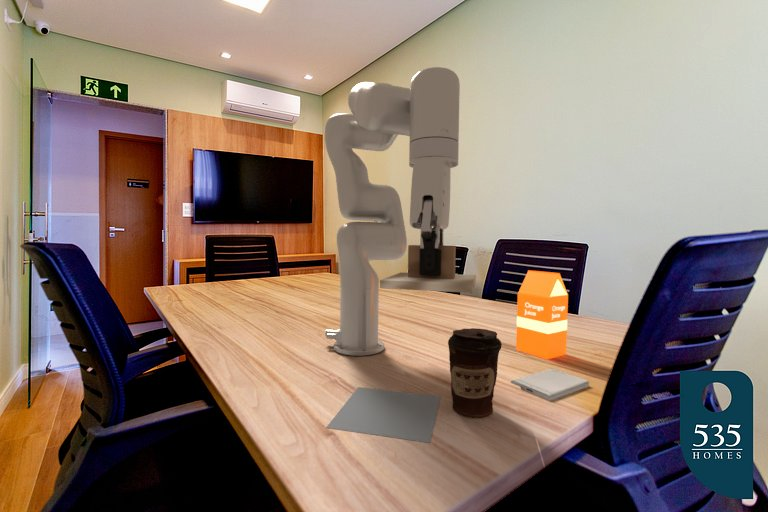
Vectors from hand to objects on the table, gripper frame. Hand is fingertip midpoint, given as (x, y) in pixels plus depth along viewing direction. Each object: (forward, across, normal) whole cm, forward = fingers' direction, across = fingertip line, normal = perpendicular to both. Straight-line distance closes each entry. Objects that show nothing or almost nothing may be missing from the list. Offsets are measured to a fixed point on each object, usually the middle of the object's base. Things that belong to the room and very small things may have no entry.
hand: (431, 273), depth 58 cm
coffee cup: (+23, -2, +7) cm, 24 cm away
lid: (+2, 0, 0) cm, 2 cm away
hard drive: (+23, -18, +20) cm, 36 cm away
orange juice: (+22, -40, +21) cm, 51 cm away
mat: (+22, +2, -6) cm, 23 cm away
